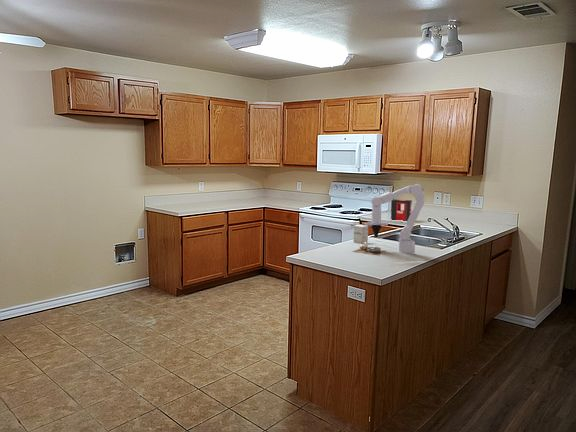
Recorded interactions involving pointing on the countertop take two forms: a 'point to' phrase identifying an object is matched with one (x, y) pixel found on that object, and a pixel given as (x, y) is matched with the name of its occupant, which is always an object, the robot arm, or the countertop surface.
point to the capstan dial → (370, 248)
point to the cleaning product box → (401, 209)
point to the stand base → (370, 252)
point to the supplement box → (360, 234)
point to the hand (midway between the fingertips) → (375, 236)
